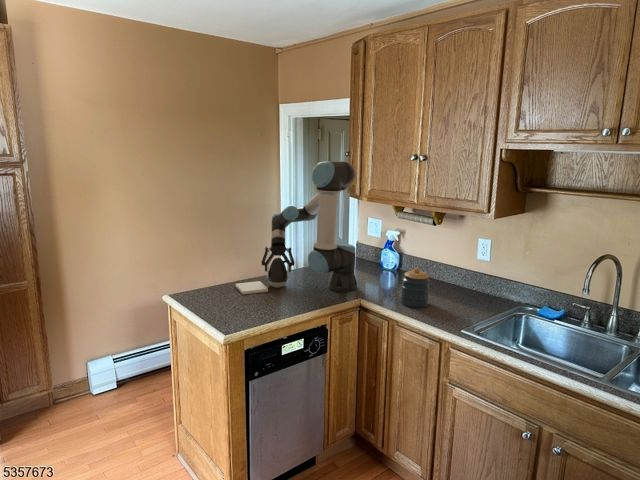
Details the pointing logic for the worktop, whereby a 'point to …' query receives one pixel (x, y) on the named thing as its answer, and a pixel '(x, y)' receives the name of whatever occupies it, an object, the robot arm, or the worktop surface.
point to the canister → (415, 289)
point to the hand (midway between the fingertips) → (277, 276)
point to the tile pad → (251, 287)
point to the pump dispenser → (277, 273)
